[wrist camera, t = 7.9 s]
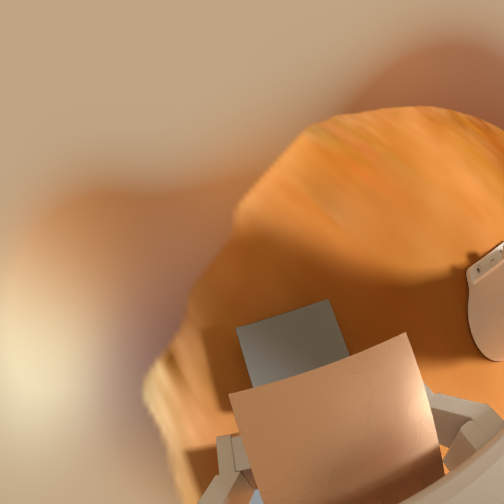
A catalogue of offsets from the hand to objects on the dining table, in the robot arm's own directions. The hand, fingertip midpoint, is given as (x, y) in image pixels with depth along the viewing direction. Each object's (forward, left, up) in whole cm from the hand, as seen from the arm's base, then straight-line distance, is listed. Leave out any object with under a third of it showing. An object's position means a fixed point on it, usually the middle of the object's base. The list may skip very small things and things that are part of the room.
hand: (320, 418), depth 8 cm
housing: (0, +1, -5) cm, 5 cm away
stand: (-3, -3, -23) cm, 23 cm away
